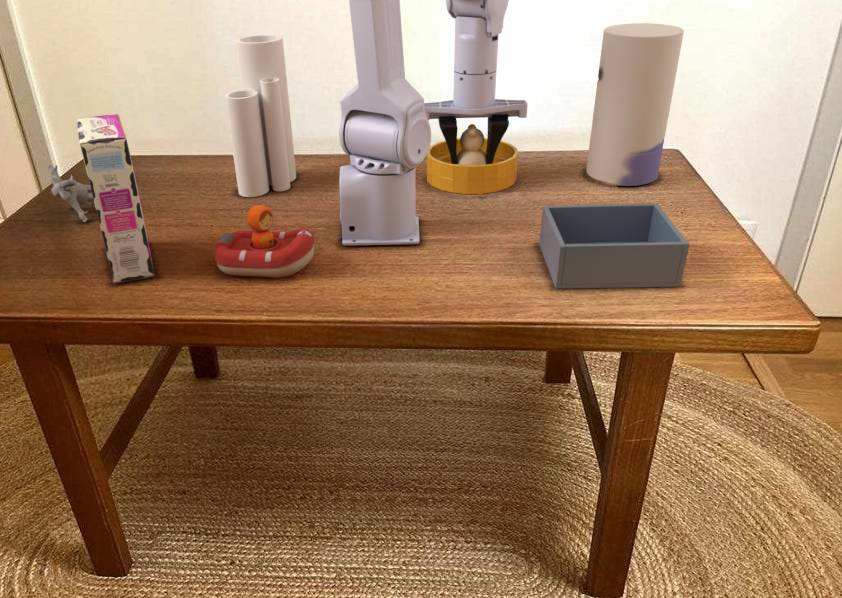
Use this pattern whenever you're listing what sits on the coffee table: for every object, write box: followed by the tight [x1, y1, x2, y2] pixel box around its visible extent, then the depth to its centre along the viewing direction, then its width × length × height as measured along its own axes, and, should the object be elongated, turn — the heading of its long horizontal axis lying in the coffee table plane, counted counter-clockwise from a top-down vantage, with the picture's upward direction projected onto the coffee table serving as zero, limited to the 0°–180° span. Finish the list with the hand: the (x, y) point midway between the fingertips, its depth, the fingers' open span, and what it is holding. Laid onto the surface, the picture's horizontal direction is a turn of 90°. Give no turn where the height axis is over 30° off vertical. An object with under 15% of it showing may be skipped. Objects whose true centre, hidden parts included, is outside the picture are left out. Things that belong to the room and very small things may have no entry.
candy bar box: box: [76, 114, 156, 284], centre depth 84 cm, size 11×5×16 cm, turn 21°
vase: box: [224, 34, 297, 198], centre depth 104 cm, size 11×7×20 cm, turn 166°
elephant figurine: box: [47, 163, 94, 223], centre depth 102 cm, size 10×6×9 cm
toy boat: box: [214, 204, 315, 279], centre depth 83 cm, size 8×12×8 cm, turn 81°
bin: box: [538, 203, 691, 290], centre depth 81 cm, size 13×11×5 cm
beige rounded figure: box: [457, 123, 487, 165], centre depth 104 cm, size 5×5×8 cm
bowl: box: [426, 137, 520, 195], centre depth 105 cm, size 13×13×4 cm
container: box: [585, 22, 685, 187], centre depth 101 cm, size 10×10×20 cm
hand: (471, 167), depth 106 cm, fingers closed on beige rounded figure, 4 cm apart
